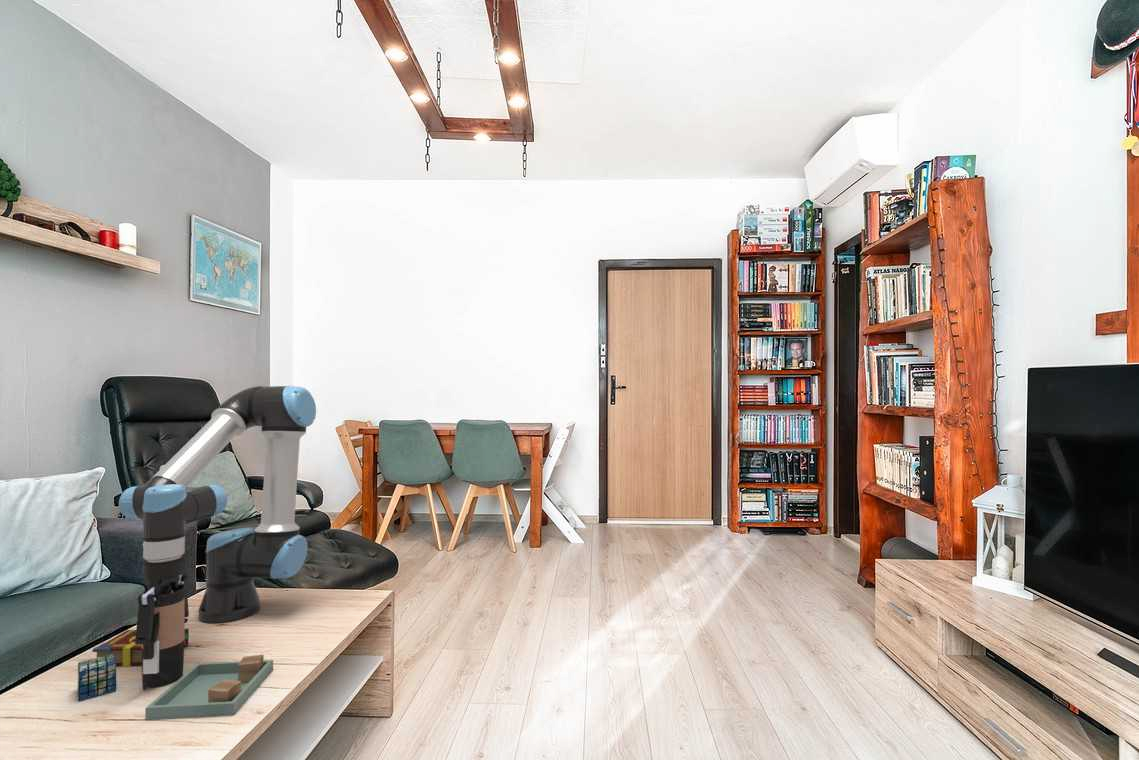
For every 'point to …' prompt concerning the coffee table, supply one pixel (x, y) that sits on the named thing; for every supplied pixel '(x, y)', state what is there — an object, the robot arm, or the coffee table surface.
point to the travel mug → (168, 639)
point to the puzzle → (96, 677)
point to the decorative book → (125, 648)
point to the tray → (204, 692)
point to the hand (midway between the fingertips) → (163, 663)
